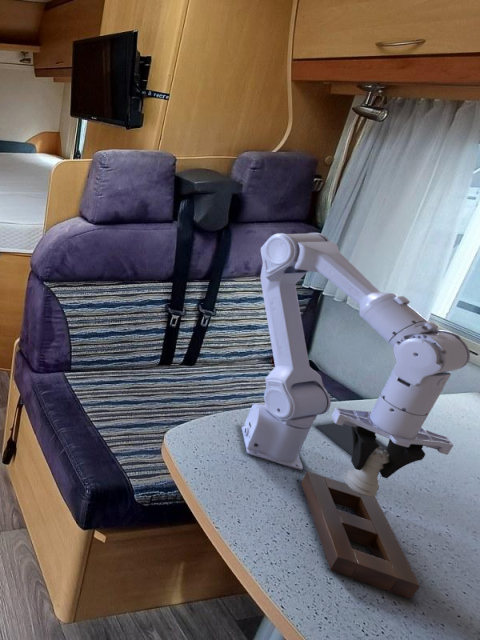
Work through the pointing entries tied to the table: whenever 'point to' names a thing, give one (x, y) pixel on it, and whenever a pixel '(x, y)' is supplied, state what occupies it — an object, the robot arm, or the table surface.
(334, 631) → the table surface
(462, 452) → the table surface
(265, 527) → the table surface
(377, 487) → the rook chess piece
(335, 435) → the pad
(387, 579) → the frame
